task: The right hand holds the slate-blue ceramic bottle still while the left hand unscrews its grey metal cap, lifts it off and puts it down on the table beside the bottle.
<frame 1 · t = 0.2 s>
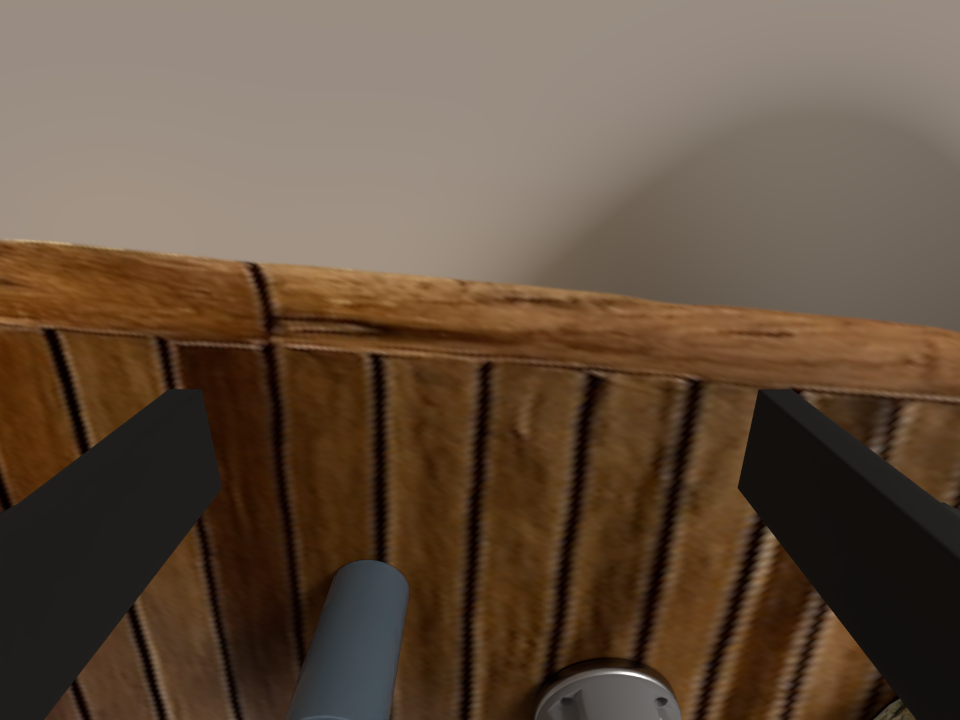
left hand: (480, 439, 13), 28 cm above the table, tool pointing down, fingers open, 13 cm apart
bottle: (370, 590, 51), on the table
fossil: (911, 713, 57), on the table
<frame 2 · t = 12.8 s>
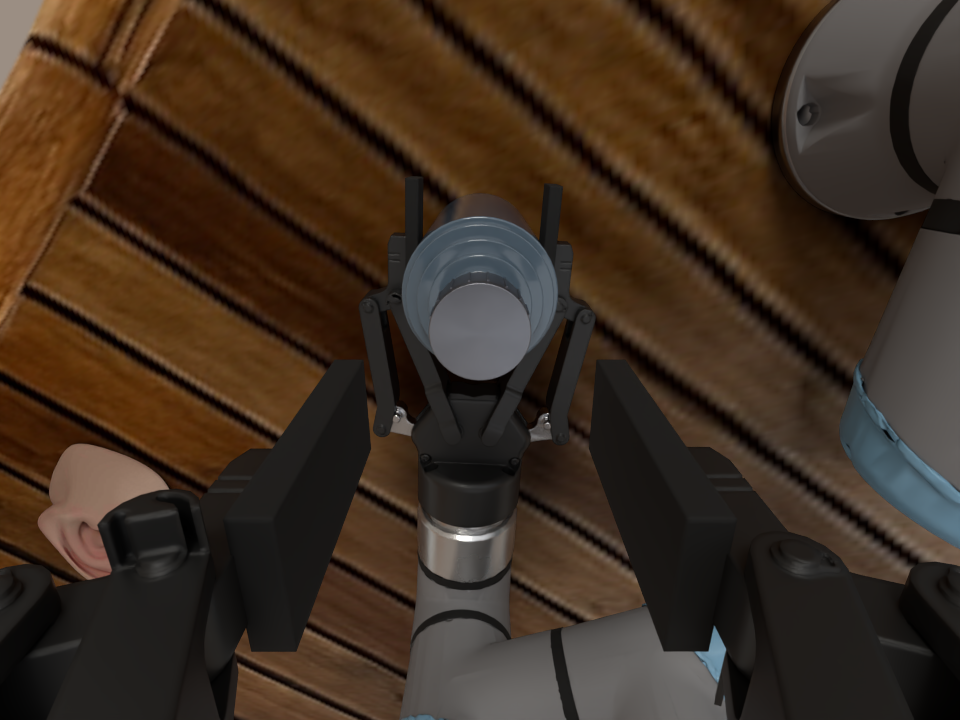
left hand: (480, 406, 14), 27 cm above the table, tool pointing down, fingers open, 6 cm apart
right hand: (484, 181, 31), fingers closed on bottle, 8 cm apart
bottle: (479, 246, 39), on the table, touching right hand
anatomical model: (120, 508, 48), on the table
cap: (479, 331, 20), point 20 cm above the table, screwed on, not yet turned
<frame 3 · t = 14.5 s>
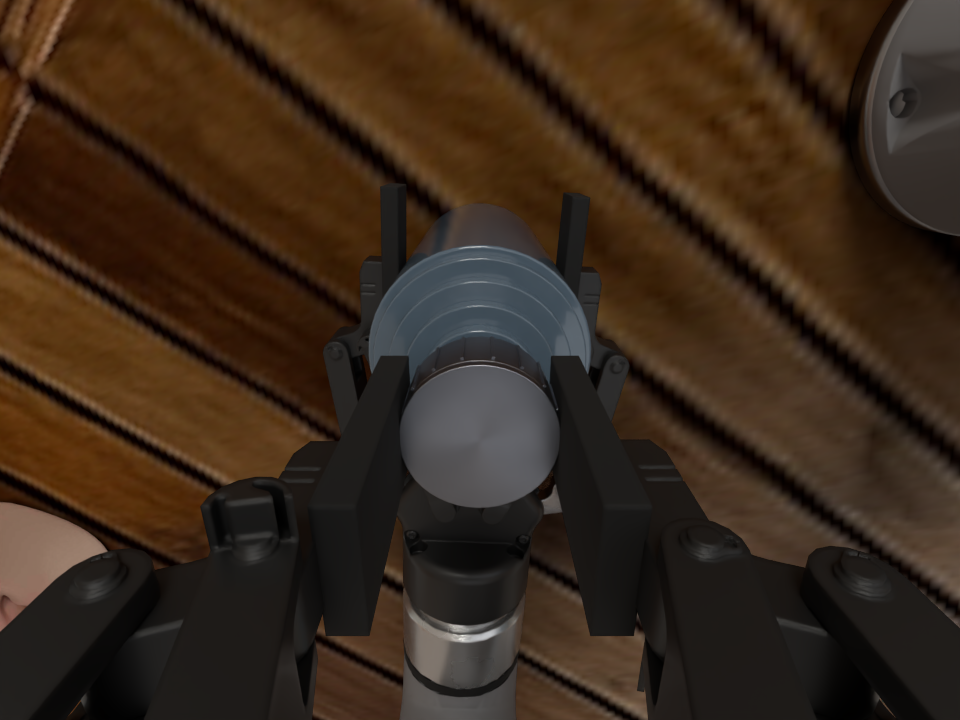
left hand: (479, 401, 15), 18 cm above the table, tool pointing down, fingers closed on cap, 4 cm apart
bottle: (479, 268, 32), on the table, touching right hand
anatomical model: (52, 574, 40), on the table
cap: (479, 434, 13), point 20 cm above the table, screwed on, not yet turned, touching left hand
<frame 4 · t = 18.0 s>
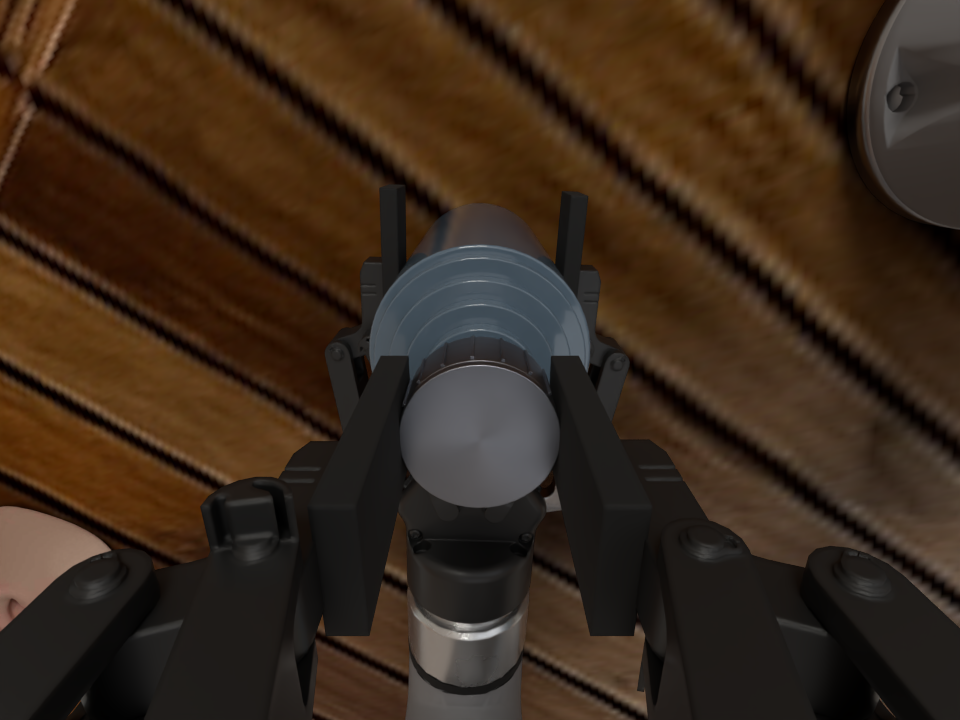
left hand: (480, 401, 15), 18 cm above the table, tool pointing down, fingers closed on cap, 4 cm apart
bottle: (479, 268, 32), on the table, touching right hand
anatomical model: (59, 577, 40), on the table
cap: (479, 434, 13), point 20 cm above the table, turned 119° so far, risen 0.1 cm, still on its thread, touching left hand
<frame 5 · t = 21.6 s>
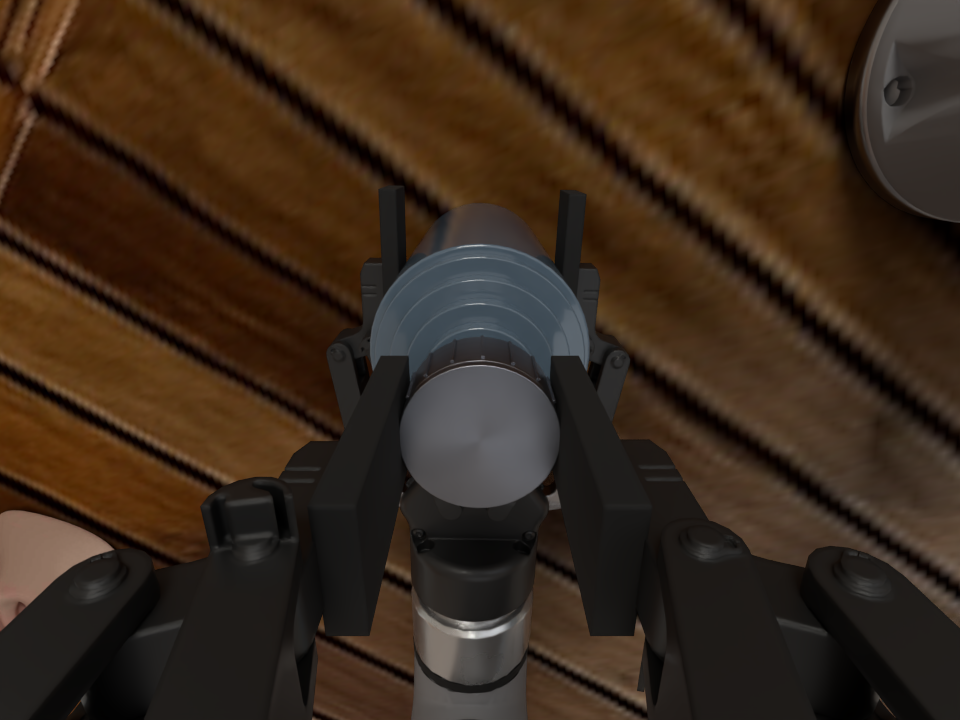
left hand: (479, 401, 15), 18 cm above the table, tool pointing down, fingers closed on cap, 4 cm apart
bottle: (479, 267, 32), on the table, touching right hand
anatomical model: (66, 580, 41), on the table
cap: (479, 434, 13), point 20 cm above the table, turned 238° so far, risen 0.2 cm, still on its thread, touching left hand
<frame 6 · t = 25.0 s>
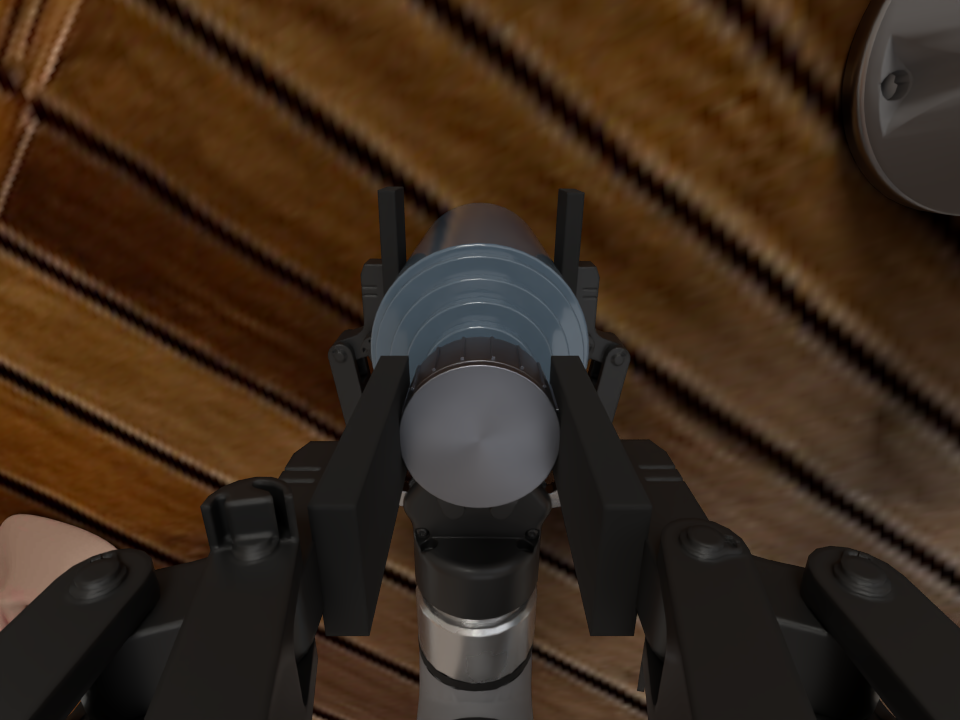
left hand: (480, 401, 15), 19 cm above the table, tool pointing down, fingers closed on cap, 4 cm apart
bottle: (479, 267, 32), on the table, touching right hand
anatomical model: (73, 583, 41), on the table
cap: (479, 434, 13), point 20 cm above the table, turned 358° so far, risen 0.4 cm, still on its thread, touching left hand
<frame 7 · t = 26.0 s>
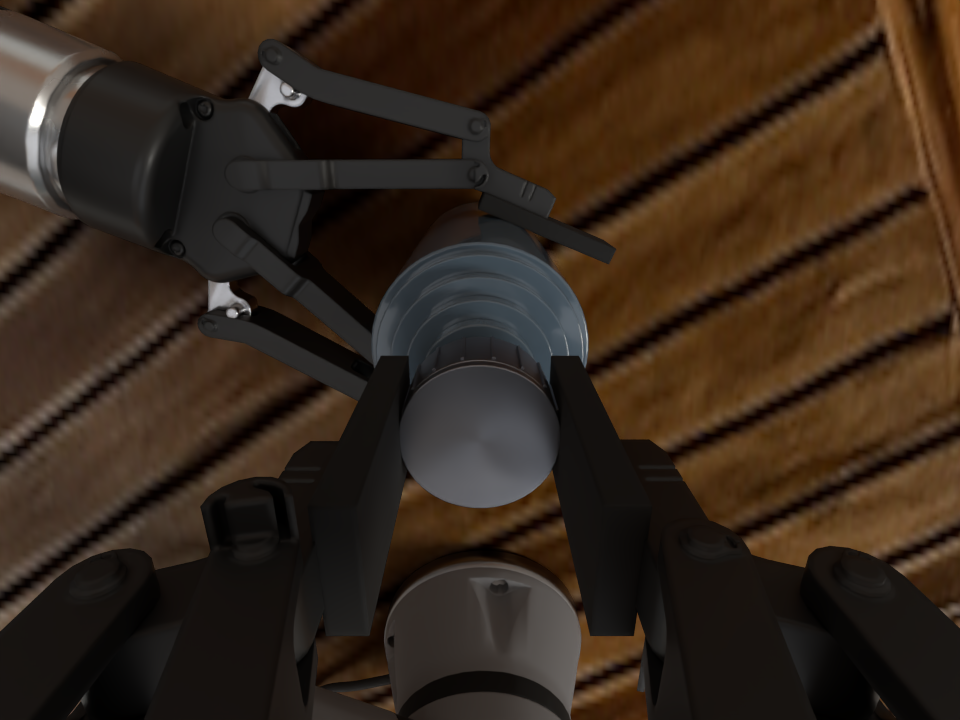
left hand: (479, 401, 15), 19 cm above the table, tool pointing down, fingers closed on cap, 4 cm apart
right hand: (568, 327, 27), fingers closed on bottle, 8 cm apart
bottle: (479, 266, 32), on the table, touching right hand
cap: (479, 434, 13), point 20 cm above the table, off its thread, touching left hand
when the left hand's fingers open (1 cm above the table, at t = 32.5 s): cap drops 1 cm, point 2 cm above the table.
when the right hand's fingers open (6 cm above the table, at t = 33.8 s): bottle stays where it is, on the table.
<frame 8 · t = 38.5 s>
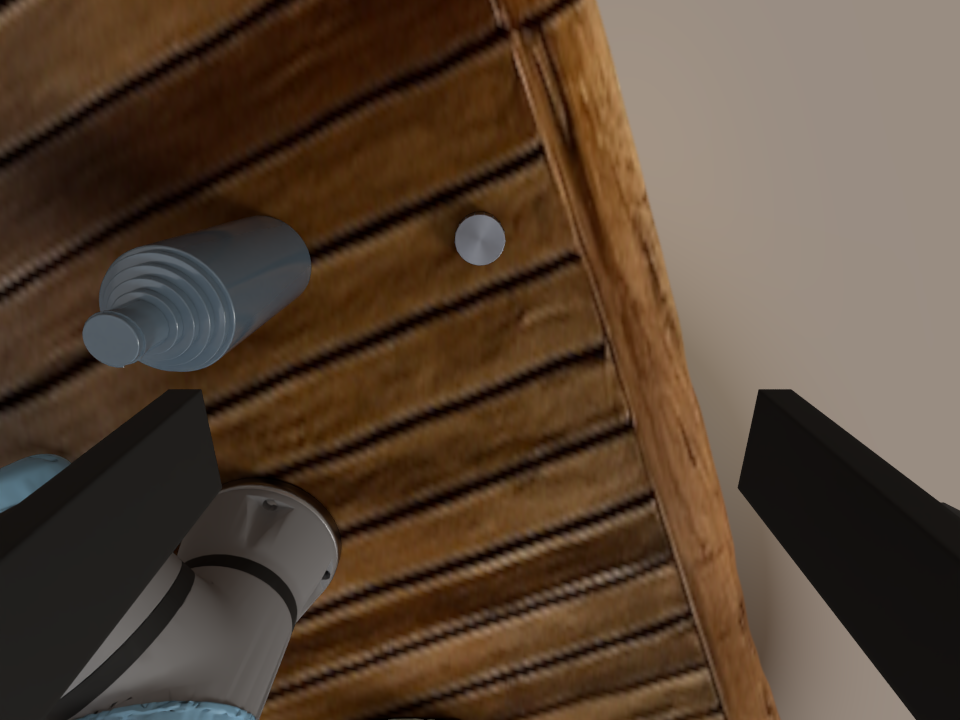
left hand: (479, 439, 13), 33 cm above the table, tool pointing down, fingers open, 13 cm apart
bottle: (266, 261, 44), on the table
cap: (480, 239, 42), point 2 cm above the table, off its thread
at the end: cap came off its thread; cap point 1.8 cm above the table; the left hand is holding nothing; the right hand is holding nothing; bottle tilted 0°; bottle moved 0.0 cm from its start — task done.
